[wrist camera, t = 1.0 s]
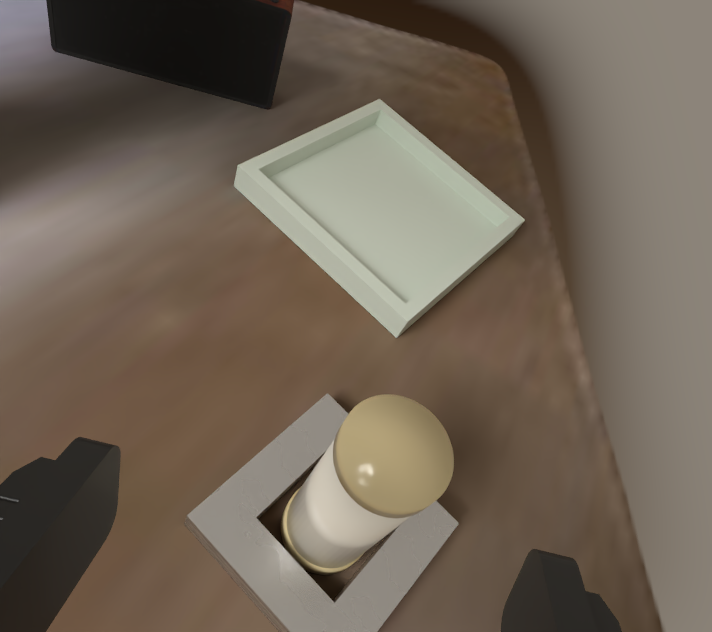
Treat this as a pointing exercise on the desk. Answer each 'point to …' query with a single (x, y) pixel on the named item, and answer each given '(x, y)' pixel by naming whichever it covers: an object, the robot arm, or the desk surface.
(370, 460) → the cartridge fuse
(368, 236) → the parts tray
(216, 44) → the radio
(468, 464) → the desk surface
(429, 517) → the fuse holder
